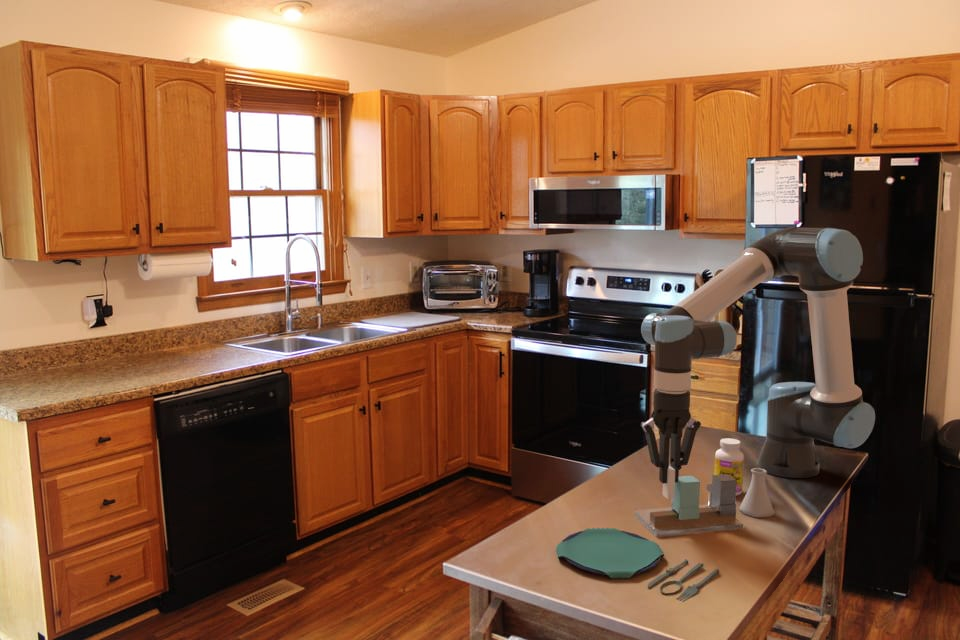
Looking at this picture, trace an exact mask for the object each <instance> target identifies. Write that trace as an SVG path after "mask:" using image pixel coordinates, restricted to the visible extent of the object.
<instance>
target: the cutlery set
mask: <svg viewBox="0 0 960 640" xmlns="http://www.w3.org/2000/svg"><path fill="white" fill-rule="evenodd" d="M555 551H556V554H557V559H560V557H563V558H564V560H565V561H567V562H568V564H570V565H573V566H575V567H576V568H578V569H580V570H582V571H586V572H590V573H593V574H598V575H604V576H605V575H606V576H608V577H610V578H611V579H629V578H630V577H632V576H633V575H637V574H638V575H639V574H642V573H644V572H647V571H649V570H651V569H654V568H655V566H656V565H657V564H659V562H660V558H663V557H664V556H665V554H664V552H663V550H662V548H661V546H660V545H659V544H658V543H657V542H656V541H652V540H649V539H647V538H646V537H644V536H642V535H638V534H636V533H633V532H628V531H625V530H620V529H617V528H614V527H611V528H609V527H601V528H600V527H596V528H595V527H593V528H586V529H584V530H580V531H577V532H574V533H571V534H569V535H568V536H566V537H565V538H564V539H562V540H561V542H559V543H557V545H556V550H555ZM685 564H689V560H688V559H684V560H683V561H682V562H681V563H679V564H677V565H676V566H674V567H670V568H668V569H666V570H665V573H662V574H660V575H658V576H657V577H656V578H654V579H653V580H651V581H650V582H648V583H647V589H648V590H650V589H651V588H653V587H654V586H655V585H657V584H658V583H660V582H661V581H663V580H664V579H665V578H667V577H668V576H670V577H671V576H672V574H674V573H675V572H676V570H677V569H679V568H680V567H681V566H683V565H685ZM703 567H704V564H703V563H701V562H698V563H697V564H695V566H693V567H692V568H691V569H690V570H689V571H687V572H686V573H685V574H684V575H683V576H682V577H681V578H680V579H679V580H669V581H665V582H663V583H662V584H661V585H660V586H659V591H660V592H661V593H663V594H666V595H668V594H670V595H672V594H675V593H678V592H680V590H681V589H682V586H683V584H682V582H684V581H685V580H686V579H687V578H689V577H690V576H691V575H692V574H695V573H696V572H697V571H699V570H700V569H702V568H703ZM719 574H720V569H719V568H714V570H712V571H711V572H710V573H709V574H708V575H706V577H705V578H703V579H702V580H701V581H699V582H698V583H696V584H695V583H693V584H692V585H688V586H687V588H686V589H684V591H683V592H682V593H681V594H680V595H679V596H678V597H676V600H678V601H682V602H685V601H687V600H688V599H690V598H692V597H693V596H695V595H697V594H698V593H699V588H701V587H703V586H704V585H705V584H706V583H708V582H710V581H711V580H712V579H713V578H715V577H716V576H717V575H719ZM668 585H676V586H679V589H677V590H675V591H673V592H664V588H665V587H666V586H668Z"/></svg>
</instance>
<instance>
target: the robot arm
mask: <svg viewBox="0 0 960 640" xmlns="http://www.w3.org/2000/svg"><path fill="white" fill-rule="evenodd" d="M863 254H864V253H863V249H862V246H861V244H860V241H859V240H858V238H857V237H856V235H854V234H852V232H850V231H849V230H845V229H839V228H835V227H798V226H790V227H786V228H782V229H778V230H775V231H774V232H771V233H769V234H767V235H765V236H763V237H762V238H760V239H758V240H756V241H754V242H753V243H752V244H750V245H749V246H747V247H746V248H745V249H743V250H742V251H741V253H740V255H739V256H740V257H739V258H737V260H735V261H734V262H733V263H731V264H730V265H729V266H727V267H726V268H724V269H723V270H722V271H720V272H719V273H717V274H716V275H715V276H714V277H713V278H711V279H709V280H708V281H706V282H705V283H704V284H702V285H701V286H700V287H698V288H697V289H696V290H694V291H693V292H692V293H690V294H689V295H687V296H686V297H685V298H684V299H682V300H681V301H679V302H678V303H677V304H675V305H674V306H672V307H671V308H670V309H668V310H667V311H665V312H664V313H662V312H653V313H649V314H648V315H646V316H645V318H644V319H643V321H642V323H641V325H640V326H641V327H640V333H641V336H642V338H643V340H644V342H646V343H648V344H649V345H652V346H654V375H653V386H654V388H655V389H654V390H653V402H652V404H653V405H652V406H653V410H652V413H651V415H650V418H649V419H648V420H647V421H641V423H640V427H641V429H642V430H643V432H644V434H645V439H646V444H647V448H648V454H649V460H650V462H651V464H652V465H653V466H655V467H656V468H659V470H658V471H659V473H658V474H659V475H658V476H659V477H658V478H659V479H658V480H659V482H660V483H661V484H662V496H663V497H664V498H665V499H666V500H672V499H674V491H675V483H676V482H678V479H679V478H678V477H679V475H680V474H679V473H680V470H681V469H682V468H683V466H687V465H688V463H689V460H690V457H691V453H692V450H693V445H694V442H695V438H696V435H697V431H698V430H699V429H700V427H701V421H700V420H697V419H695V418H694V417H692V415H691V414H692V413H691V412H690V408H691V406H690V405H691V392H690V391H689V390H691V388H692V387H691V386H692V385H691V383H692V382H691V381H692V363H693V362H692V361H693V360H700V359H710V358H719V357H721V356H727V355H729V354H731V353H732V352H733V351H734V350H735V348H736V345H737V342H738V341H737V338H738V337H737V332H736V329H735V327H734V326H733V325H732V324H731V323H729V322H727V321H725V320H720V321H719V320H713V321H711V320H712V319H713V318H715V317H716V316H718V315H719V314H720V313H721V312H723V311H725V309H727V308H729V307H730V306H731V305H732V304H733V303H735V302H736V301H737V300H739V299H740V298H741V297H743V296H744V295H746V294H747V293H748V292H750V291H751V290H753V288H755V287H756V286H757V285H759V284H760V283H761V284H764V283H765V284H766V283H768V282H770V281H771V280H773V279H775V278H776V277H781V276H794V277H798V284H799V289H800V291H802V292H803V293H804V294H806V295H807V297H806V298H807V305H808V317H809V327H810V336H811V346H812V358H813V359H812V360H813V370H814V379H815V381H814V382H807V381H786V382H778V383H774V384H772V385H771V386H770V387H769V391H768V397H767V416H766V418H767V419H766V436H765V437H766V438H765V441H764V443H763V445H762V448H761V450H760V452H759V455H758V458H757V468H761V469H765V470H766V471H767V473H766V474H770V475H773V476H777V477H781V478H788V479H790V478H791V479H806V478H807V479H809V478H812V477H813V478H814V477H816V476H818V475H819V473H820V461H819V456H818V454H817V450H816V446H815V442H814V441H815V439H816V440H819V441H822V442H824V443H828V444H832V445H834V446H835V447H843V448H846V449H855V448H858V447H860V446H861V445H863V444H864V443H865V442H866V441H867V439H869V436H870V435H871V433H872V432H873V429H874V426H875V421H876V413H875V408H874V407H873V406H872V405H871V404H870V403H867V402H865V401H864V400H863V391H862V389H861V388H860V387H859V386H858V385H857V384H855V377H854V376H855V375H854V365H853V363H854V362H853V351H852V341H851V327H850V319H849V318H850V317H849V305H848V294H847V293H848V292H847V291H848V290H849V289H850V288H851V287H852V286H853V284H854V279H856V277H858V275H859V274H860V272H861V270H862V269H861V266H863V262H864V256H863ZM655 426H656V429H658V435H659V440H658V441H659V445H658V442H657V437H656V434H655V432H654V431H655ZM683 430H685V431H684V433H683ZM658 446H659V447H658Z"/></svg>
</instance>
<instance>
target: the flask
mask: <svg viewBox="0 0 960 640" xmlns="http://www.w3.org/2000/svg"><path fill="white" fill-rule="evenodd" d="M750 472H751V474H752V475H751V480H750V485H749V486H748V489H747V492H746V494H745V496H744V497H743V500H742V502H741V504H740V506H739V510H740V511H741V512H742V513H743V514H744V515H747V516H749V517H753V518H770V517H771V516H773V515H775V511H774V509H773V505H772V502H771V498H770V497H769V496H770V495H769V493H768V489H767V483H766V474H768V473H767V471H766V470H765V469H761V468H759V467H754V468H751V469H750Z"/></svg>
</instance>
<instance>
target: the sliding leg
mask: <svg viewBox="0 0 960 640" xmlns="http://www.w3.org/2000/svg"><path fill="white" fill-rule="evenodd" d="M678 478H679V479H678V482H676V483H675V491H674V499H671V501H670V507H671V510H675V511H676V512H677V513H679V519H680V520H686V519H697V518H699V512H700V507H699V505H700V491H701V490H700V488H701V481H700V480H699V479H697V478H696V477H694V476H693V475H684V476H683V475H681V476H679V477H678Z"/></svg>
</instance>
